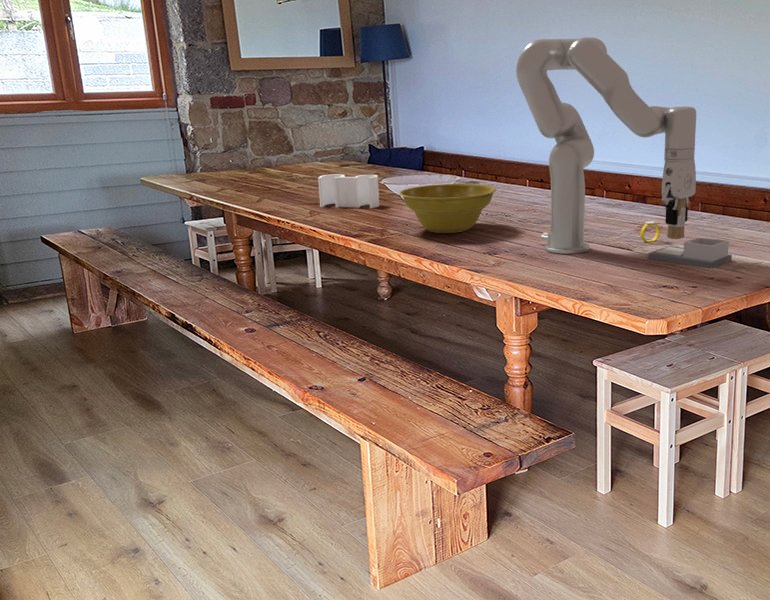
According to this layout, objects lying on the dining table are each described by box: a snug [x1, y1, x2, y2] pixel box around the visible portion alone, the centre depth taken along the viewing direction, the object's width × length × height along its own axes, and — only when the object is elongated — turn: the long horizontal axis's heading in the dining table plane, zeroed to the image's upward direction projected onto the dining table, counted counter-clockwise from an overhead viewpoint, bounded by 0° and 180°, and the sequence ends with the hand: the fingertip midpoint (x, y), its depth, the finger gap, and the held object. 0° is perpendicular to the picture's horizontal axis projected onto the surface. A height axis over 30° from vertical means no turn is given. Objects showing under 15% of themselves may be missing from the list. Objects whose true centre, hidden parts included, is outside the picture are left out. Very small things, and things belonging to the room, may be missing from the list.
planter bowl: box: [398, 183, 497, 234], centre depth 272 cm, size 32×32×13 cm
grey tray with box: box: [647, 236, 733, 269], centre depth 219 cm, size 18×11×6 cm, turn 42°
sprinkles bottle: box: [666, 196, 686, 240], centre depth 220 cm, size 5×5×13 cm
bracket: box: [317, 173, 380, 209], centre depth 329 cm, size 25×10×12 cm, turn 66°
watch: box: [639, 220, 661, 243], centre depth 242 cm, size 6×3×6 cm, turn 110°
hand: (676, 221), depth 221 cm, fingers closed on sprinkles bottle, 4 cm apart
